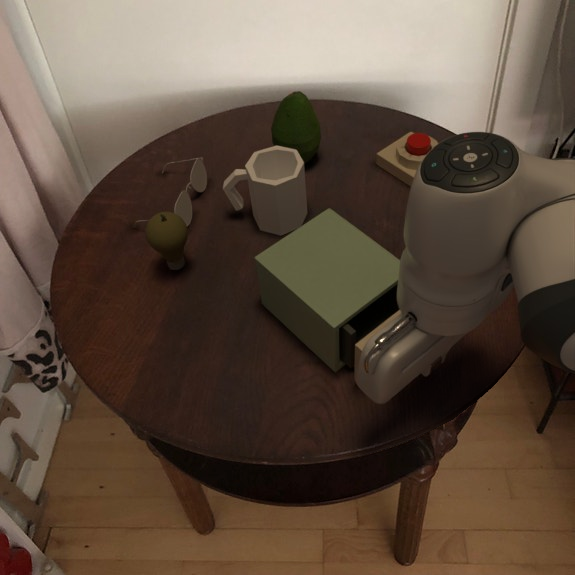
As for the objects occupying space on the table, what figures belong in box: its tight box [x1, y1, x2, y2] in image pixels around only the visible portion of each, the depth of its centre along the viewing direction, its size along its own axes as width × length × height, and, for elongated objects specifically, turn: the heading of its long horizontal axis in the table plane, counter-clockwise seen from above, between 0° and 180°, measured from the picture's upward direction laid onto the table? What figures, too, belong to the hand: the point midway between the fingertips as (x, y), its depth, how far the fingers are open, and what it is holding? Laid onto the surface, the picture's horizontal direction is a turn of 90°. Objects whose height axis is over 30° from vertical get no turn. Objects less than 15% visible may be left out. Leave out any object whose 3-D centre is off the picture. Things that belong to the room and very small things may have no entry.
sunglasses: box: [133, 157, 208, 229], centre depth 97 cm, size 14×8×5 cm, turn 167°
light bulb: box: [145, 211, 189, 271], centre depth 86 cm, size 6×6×10 cm
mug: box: [222, 145, 308, 237], centre depth 91 cm, size 12×9×10 cm
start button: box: [406, 132, 431, 156], centre depth 96 cm, size 4×4×2 cm
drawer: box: [339, 284, 401, 383], centre depth 76 cm, size 18×11×8 cm, turn 40°
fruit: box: [270, 90, 322, 164], centre depth 98 cm, size 8×8×12 cm
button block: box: [375, 131, 439, 188], centre depth 98 cm, size 10×8×4 cm
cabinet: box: [253, 207, 401, 373], centre depth 79 cm, size 15×13×10 cm
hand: (429, 365), depth 70 cm, fingers closed, pressing on drawer
